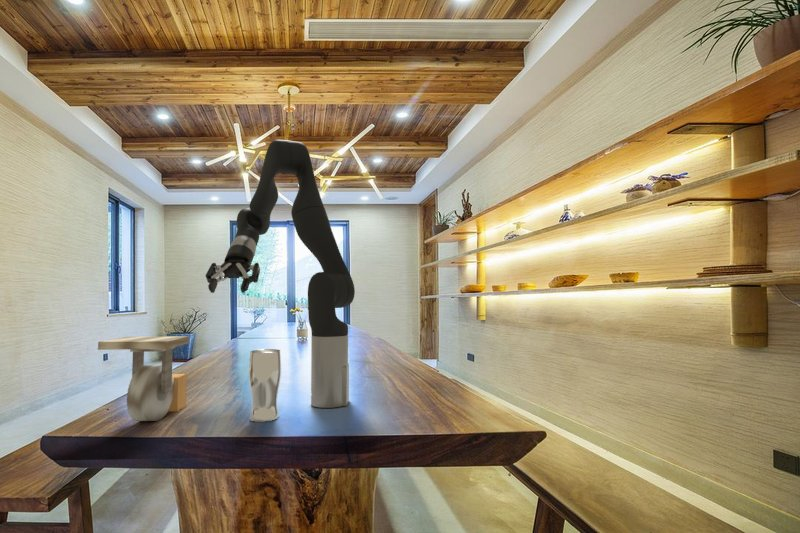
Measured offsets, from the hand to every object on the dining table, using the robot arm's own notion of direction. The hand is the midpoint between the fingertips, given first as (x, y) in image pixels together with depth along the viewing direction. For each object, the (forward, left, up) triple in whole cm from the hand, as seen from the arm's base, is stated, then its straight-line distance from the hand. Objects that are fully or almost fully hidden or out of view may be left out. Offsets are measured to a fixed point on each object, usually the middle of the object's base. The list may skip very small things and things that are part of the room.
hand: (227, 290), depth 122 cm
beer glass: (-17, +23, -29) cm, 40 cm away
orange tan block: (+8, +14, -29) cm, 33 cm away
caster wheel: (+8, +23, -29) cm, 37 cm away
